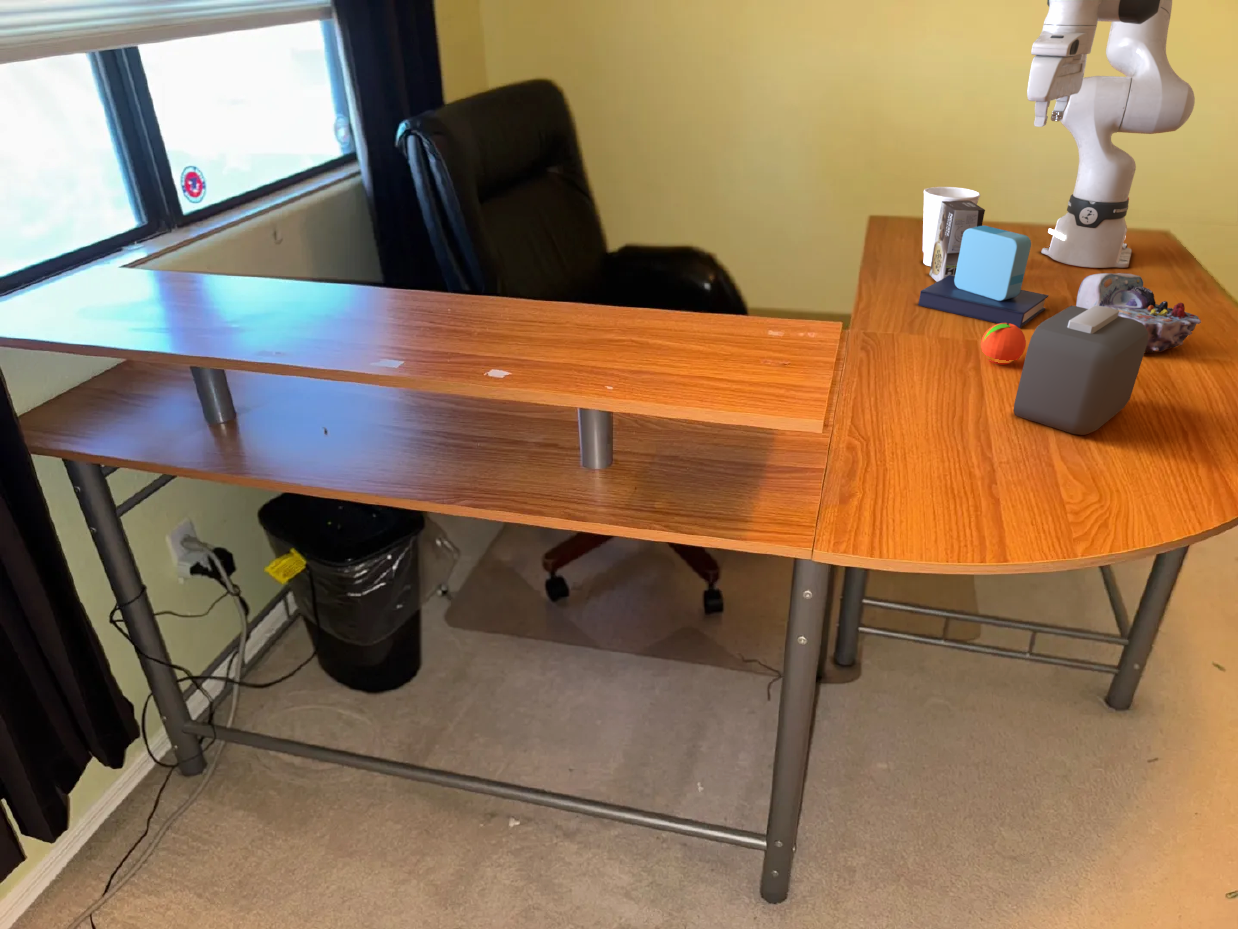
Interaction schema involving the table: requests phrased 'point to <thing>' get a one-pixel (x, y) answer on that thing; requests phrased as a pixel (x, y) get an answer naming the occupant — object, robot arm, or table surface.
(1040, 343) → the alarm clock
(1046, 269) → the table surface
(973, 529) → the table surface
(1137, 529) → the table surface
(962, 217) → the coffee box
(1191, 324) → the cell model
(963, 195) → the cup
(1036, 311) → the book
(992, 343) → the clementine
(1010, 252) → the data package
